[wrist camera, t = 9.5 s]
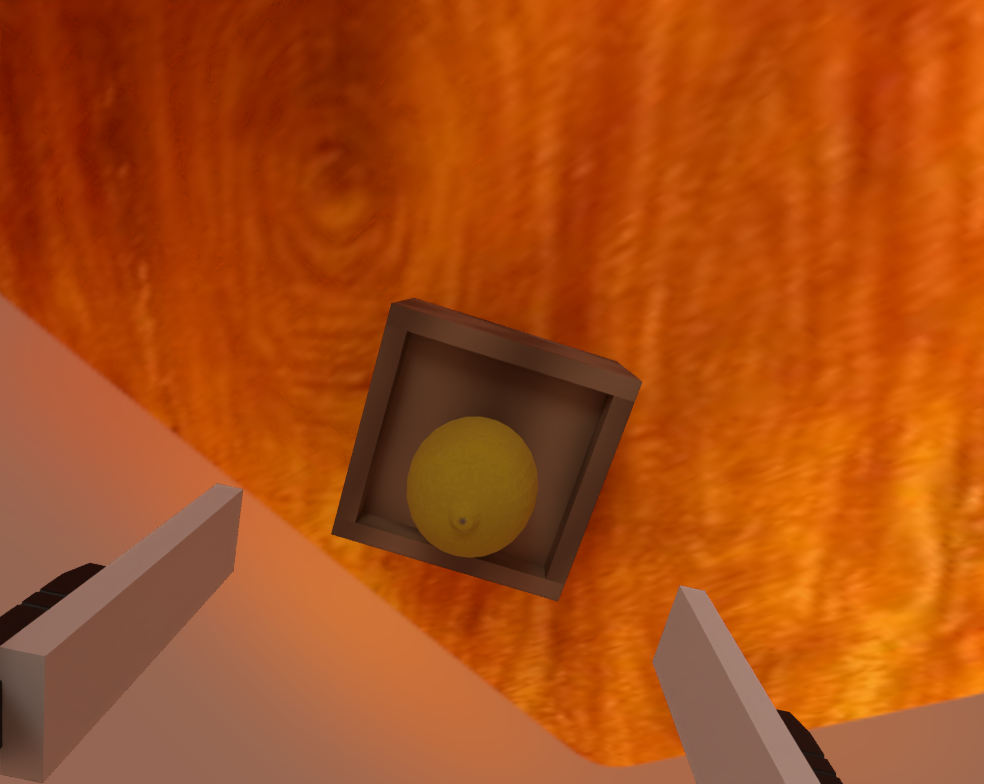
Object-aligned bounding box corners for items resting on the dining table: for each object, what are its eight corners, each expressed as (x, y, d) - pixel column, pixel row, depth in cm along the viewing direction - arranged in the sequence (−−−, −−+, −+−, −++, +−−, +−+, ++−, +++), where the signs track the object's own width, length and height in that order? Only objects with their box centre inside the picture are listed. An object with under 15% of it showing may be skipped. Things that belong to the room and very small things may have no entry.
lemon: (531, 397, 25) (536, 440, 18) (538, 503, 26) (546, 590, 19) (420, 405, 26) (376, 451, 18) (431, 510, 27) (394, 597, 19)
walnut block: (364, 485, 32) (331, 534, 26) (415, 297, 30) (391, 303, 24) (549, 540, 33) (557, 601, 27) (615, 360, 30) (642, 382, 24)
